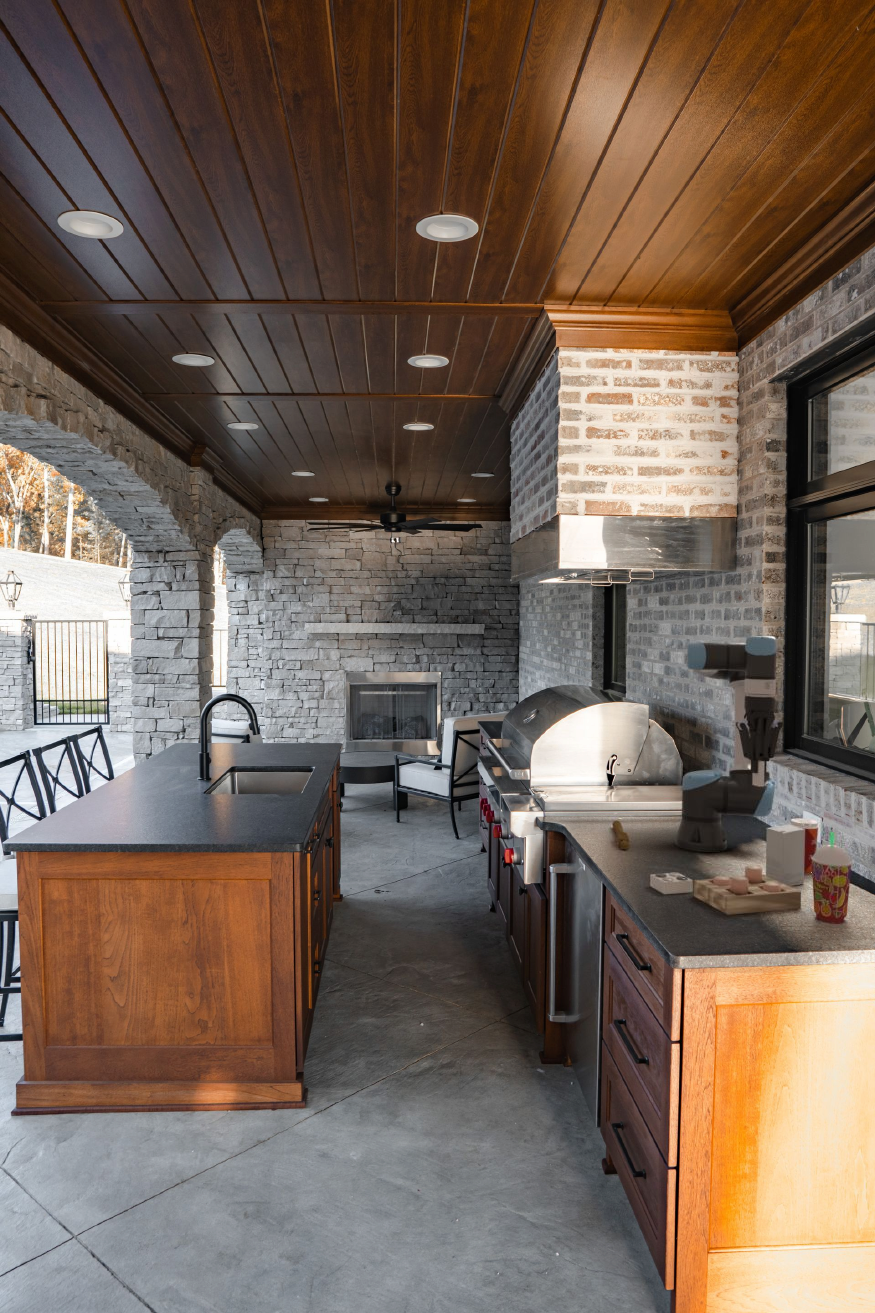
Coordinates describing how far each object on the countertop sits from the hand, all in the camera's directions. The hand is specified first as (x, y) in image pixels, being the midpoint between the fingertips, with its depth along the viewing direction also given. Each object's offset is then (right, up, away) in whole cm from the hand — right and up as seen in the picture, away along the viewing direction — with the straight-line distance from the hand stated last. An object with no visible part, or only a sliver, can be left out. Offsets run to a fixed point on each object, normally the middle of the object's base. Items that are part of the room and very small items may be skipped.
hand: (758, 785), depth 213 cm
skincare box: (+8, -26, +2) cm, 28 cm away
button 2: (-12, -23, -18) cm, 32 cm away
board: (-8, -26, -14) cm, 31 cm away
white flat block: (-24, -26, -4) cm, 35 cm away
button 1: (-14, -25, -12) cm, 30 cm away
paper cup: (+18, -26, +14) cm, 35 cm away
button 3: (-5, -23, -9) cm, 25 cm away
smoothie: (+7, -27, -25) cm, 38 cm away
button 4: (-3, -25, -16) cm, 30 cm away
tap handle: (-25, -25, +49) cm, 60 cm away
